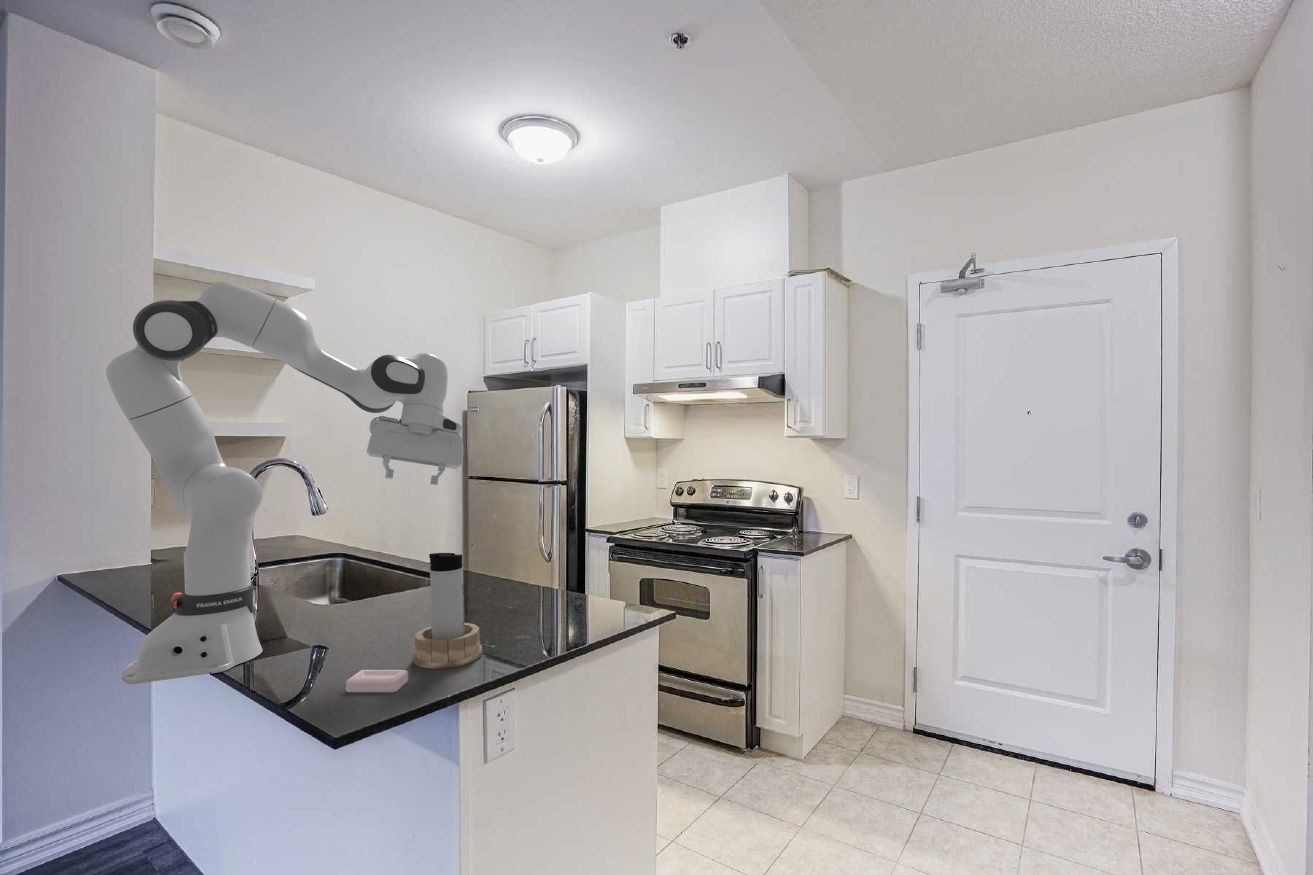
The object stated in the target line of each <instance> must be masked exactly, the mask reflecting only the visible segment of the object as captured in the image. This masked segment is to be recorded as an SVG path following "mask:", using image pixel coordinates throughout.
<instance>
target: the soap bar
mask: <svg viewBox="0 0 1313 875" xmlns="http://www.w3.org/2000/svg"><path fill="white" fill-rule="evenodd" d="M408 682H409V671H408V670H407V669H361V670H360V671H358V672H357V673H355V674H354V675H353V676H351V677H349V678H348V679H347V680H346V681H345V692H347V693H394V692H397V691H398V690H400V689H401V688H402V687H403V686H405V685H406V683H408Z"/></svg>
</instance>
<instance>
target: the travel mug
mask: <svg viewBox="0 0 1313 875" xmlns="http://www.w3.org/2000/svg"><path fill="white" fill-rule="evenodd" d="M428 555H429V556H428V557H429V565H430V567H429V572H430V573H429V579H430V580H429V581H430V584H429V585H430V612H431V613H430V615H431V616H430V618H431V626H432V639H433V640H441V639H451V638H456V637H461V636H464V635H465V627H464V623H465V603H464V602H465V596H464V595H465V594H464V593H465V592H464V570H463V569H464V565H463V554H461V553H459V554H456V553H455V552H454V553H452V552H433V553H429V554H428Z"/></svg>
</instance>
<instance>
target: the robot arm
mask: <svg viewBox="0 0 1313 875" xmlns="http://www.w3.org/2000/svg"><path fill="white" fill-rule="evenodd" d="M132 333H133V336H134V339H135V341H136V346H135V347H134V348H133V349H131V350H128V351H126V352H124V353H121V354H119V355H118V356H116V357H114V358H113V359H112V360H111V361H110V362H109V363H108V364H107V366H106V370H105V374H106V377H107V378H106V379H107V380H108V384H109V387H110V389H111V391H112V394H113V396H114V398H115V400H116V402H117V404H118V406H119V407H120V409H121V412H122V413H123V414H124V416H125V418H126V419H127V421H128V422H129V424H130V425H131V427H132V428H133V430H134V431H135V433H136V434H137V436H138V438H139V439H140V441H141V442H142V444H143V445H144V447H145V448H146V450H147V451H148V454H149V456H151V458H152V460H153V462H154V464H155V467H156V469H157V471H158V473H159V476H160V478H161V480H162V482H163V484H164V486H165V488H166V490H167V491H168V493H169V495H170V499H171V500H172V503H173V504H174V506H175V507H176V508H177V509H178V510H179V512H181V513H182V514H184V515H186V516H188V517H190V518H191V519H190V520H191V522H190V528H189V535H188V539H187V540H188V541H187V545H186V548H185V549H184V552H183V570H184V571H183V573H184V574H183V578H184V592H183V593H182V592H179V591H178V592H175V593H173V595H172V596H171V598H170V602H171V603H172V604H171V605H172V613H173V614H172V615H170V616H169V617H168V618H167V619H165V620H164V621H163V622H161V623H159V625H158V626H156V627H155V628H154V629H152V630H151V631H150V632H149V633H148V634H146V636H145V637H143V639H142V640H141V641H140V642H141V643H140V644H139V647H138V650H137V656H136V660H134V661H132V662H131V663H129V664H128V665H127V666H126V667H125V668H124V670H123V671H122V678H121V679H122V682H124V683H125V684H128V685H137V684H144V683H145V684H146V683H151V682H152V683H153V682H159V681H166V680H172V679H175V680H176V679H181V678H186V677H187V678H188V677H194V676H202V675H209V674H216V673H222V672H226V671H227V670H230V669H231V668H234V667H235V666H237V665H239V664H242V663H245V662H248V661H250V660H252V659H255V658H256V657H258V656H259V655H261V653H263V647H262V645H261V643H260V640H259V636H258V632H257V629H256V624H255V618H254V611H255V607H256V605H255V604H256V603H255V602H256V601H255V589H254V585H253V583H252V581H251V579H252V578H251V542H252V536H253V530H254V525H255V519H256V514H257V511H258V508H259V507H260V505H261V503H262V500H263V489H262V485H261V484H260V482H259V481H258V480H257V479H256V478H255V477H253V475H251V474H250V473H248V472H247V471H245V470H243V469H241V468H239V467H234V466H232V467H231V466H228V465H226V463H225V461H224V460H223V457H222V455H221V453H220V450H219V448H218V445H217V441H216V436H215V430H214V428H213V427H212V425H211V423H210V421H209V419H208V418H207V417H206V415H205V412H204V411H203V410H202V408H201V407H200V405H199V403H198V401H197V400H196V398H195V397H194V395H193V394H192V392H191V390H190V388H189V387H188V385H187V384H186V382H185V380H184V378H183V375H182V373H181V369H180V368H181V364H182V362H183V361H185V360H186V359H188V358H192V357H193V356H195V355H197V354H199V353H200V352H201V351H202V350H203V349H204V347H205V346H206V345H207V344H208V343H209V342H211V340H213V339H215V338H225V339H228V340H232V341H235V342H237V343H239V344H241V345H244V346H247V347H249V348H252V349H253V350H256V351H258V352H260V353H262V354H265V355H268V356H269V357H272V358H273V359H276V360H278V361H280V362H282V363H284V364H286V365H287V366H289V367H291V368H293V369H294V370H296V371H298V372H300V373H301V374H304V375H306V376H307V377H310V378H312V379H314V380H316V381H318V382H320V383H322V384H324V385H326V386H328V387H330V388H332V389H333V390H335V391H338V392H339V393H341V394H343V395H344V396H346V397H347V398H348V399H349V400H350V401H351V402H352V403H353V404H355V406H357V407H358V408H359V409H361V410H362V411H365V412H367V413H371V414H379V413H381V414H382V413H384V412H387V411H388V410H390V409H391V408H392V407H393V406H394V405H395V403H396V402H399V403H401V404H402V409H401V410H402V411H401V416H400V418H397V417H389V416H388V417H387V416H384V415H379V416H376V417H374V418H372V419H371V420H370V424H369V432H370V434H371V435H370V438H369V440H368V445H367V449H366V452H367V455H368V456H369V457H373V458H379V459H382V465H383V467H384V470H385V476H384V478H385V479H388V480H393V478H394V473H395V469H392V468H391V467H390V462H391V460H393V461H399V462H405V463H413V464H420V465H427V466H433V467H437V471H438V473H437V474H436V475H431V477H430V482H429V484H430V485H431V486H438V483H439V478H440V477H441V476H442V474H443V473H444V472H445V470H446V469H452V470H457V469H459V468H460V467H461V466H462V465H463V462H464V441H463V438H462V436H461V433H462V428H463V427H462V425H461V424H460V422H457V421H455V420H453V419H451V418H449V417H447V416H445V415H444V408H443V407H444V406H443V404H444V401H445V400H446V396H447V392H448V391H447V390H448V378H449V377H448V376H449V374H448V373H449V372H448V368H447V366H446V363H445V361H443V360H442V359H441V358H440V357H437V356H436V355H434V354H431V353H426V352H421V353H417V354H415V355H409V356H400V355H399V356H398V355H395V354H384V355H382V356H378V357H377V358H376V359H375V360H374V361H372V362H371V363H370V365H368V366H367V367H366V368H365V369H363V368H362V369H360V368H355V367H353V366H351V365H349V364H347V363H346V362H343V361H342V360H340V359H338V358H336V357H335V356H332V355H330V354H329V353H327V352H325V351H324V350H322V349H321V347H320V346H319V345H318V344H317V341H316V340H315V336H314V330H313V327H312V324H311V322H310V320H309V319H308V317H307V316H306V315H305V314H303V313H302V312H301V311H299V310H298V309H296V308H295V307H293V306H292V305H289V304H288V303H287V302H284V301H281V300H279V299H277V298H275V297H273V296H272V295H271V296H270V295H268V294H267V293H264V292H261V291H259V290H256V289H253V288H252V287H251V288H250V287H248V286H245V285H241V284H238V283H235V282H232V281H227V280H218V281H215V282H212V283H211V284H210V285H208V286H207V287H206V288H205V289H204V290H203V291H202V292H201V295H200V296H199V297H198V299H197V300H174V299H162V300H156V301H153V302H151V303H149V304H147V305H146V306H144V307H143V308H141V310H140V311H139V312H138V313H137V314H136V316H135V317H134V320H133V324H132ZM210 672H211V673H210Z"/></svg>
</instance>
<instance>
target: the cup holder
mask: <svg viewBox="0 0 1313 875" xmlns="http://www.w3.org/2000/svg"><path fill="white" fill-rule="evenodd" d="M464 627H465V635H464V636H461V637H456V638H451V639H441V640H433V639H432V625H431V626H427V627H425V628H422V629H420V630H418V632H417V633H416V634H414V651H415V652H414V653H413V654H412V663H413V665H414V666H416V667H419V668H421V669H428V670H440V669H441V670H444V669H451V668H457V667H462V666H465V665H468V664H471V663H473V662H475V661H477V660H478V659H480V658H481V657H482V655H483V646H482V645H481V641H480V640H481V639H480V638H481V637H480V636H481V634H480V627H479V626H478V625H476V624H475V623H472V622H471V623H470V622H464Z"/></svg>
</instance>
